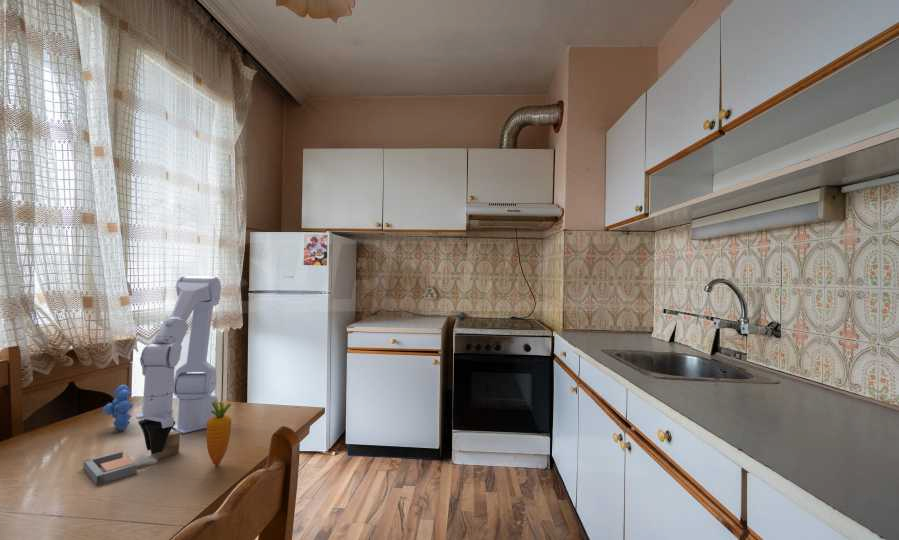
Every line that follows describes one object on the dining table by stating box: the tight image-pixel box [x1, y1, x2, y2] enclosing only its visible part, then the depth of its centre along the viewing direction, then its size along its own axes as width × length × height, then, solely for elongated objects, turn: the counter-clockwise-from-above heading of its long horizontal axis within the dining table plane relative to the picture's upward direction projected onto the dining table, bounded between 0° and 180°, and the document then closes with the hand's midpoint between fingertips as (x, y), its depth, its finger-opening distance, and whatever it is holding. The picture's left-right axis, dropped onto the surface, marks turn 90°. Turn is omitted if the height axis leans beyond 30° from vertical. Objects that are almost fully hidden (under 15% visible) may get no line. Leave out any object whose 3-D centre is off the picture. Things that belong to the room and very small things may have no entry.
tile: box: [99, 456, 135, 473], centre depth 87 cm, size 5×5×2 cm
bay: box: [82, 450, 138, 486], centre depth 86 cm, size 7×11×2 cm, turn 54°
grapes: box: [101, 384, 134, 431], centre depth 109 cm, size 12×7×12 cm, turn 46°
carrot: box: [205, 401, 232, 467], centre depth 90 cm, size 5×5×15 cm
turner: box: [130, 430, 181, 469], centre depth 93 cm, size 9×6×5 cm, turn 144°
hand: (154, 450), depth 92 cm, fingers closed on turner, 2 cm apart
